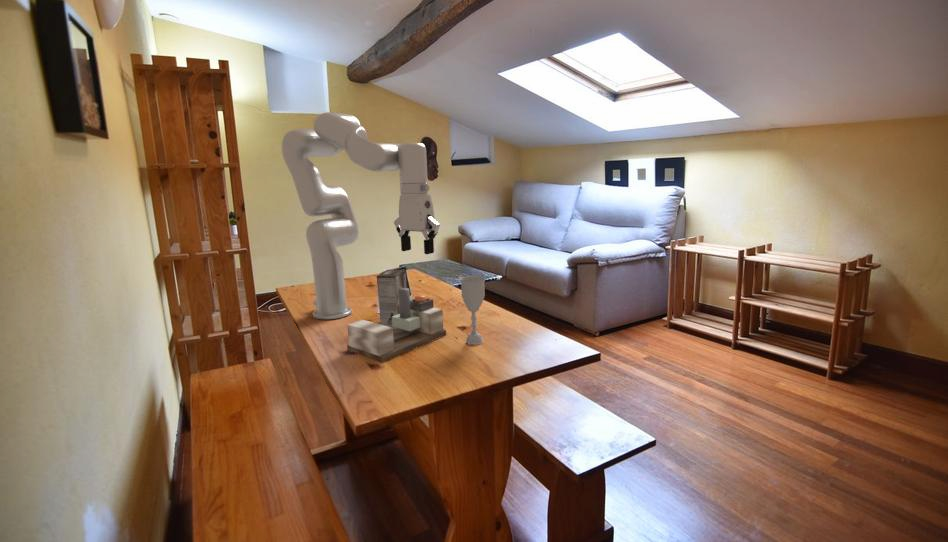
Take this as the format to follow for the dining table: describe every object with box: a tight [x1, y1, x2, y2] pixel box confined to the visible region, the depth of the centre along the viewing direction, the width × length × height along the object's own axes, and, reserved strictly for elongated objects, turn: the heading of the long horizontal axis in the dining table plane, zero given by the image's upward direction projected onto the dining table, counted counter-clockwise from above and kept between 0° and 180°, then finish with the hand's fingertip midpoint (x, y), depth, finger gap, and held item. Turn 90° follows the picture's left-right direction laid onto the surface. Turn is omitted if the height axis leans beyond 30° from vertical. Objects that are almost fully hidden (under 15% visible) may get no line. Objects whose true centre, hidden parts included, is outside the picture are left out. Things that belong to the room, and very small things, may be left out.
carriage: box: [391, 287, 420, 331], centre depth 136 cm, size 7×4×11 cm, turn 51°
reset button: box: [414, 294, 427, 303], centre depth 141 cm, size 3×3×2 cm
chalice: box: [458, 274, 487, 346], centre depth 133 cm, size 7×7×18 cm
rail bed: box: [346, 297, 447, 363], centre depth 135 cm, size 14×24×10 cm, turn 141°
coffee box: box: [376, 269, 408, 328], centre depth 151 cm, size 9×6×16 cm
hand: (417, 251), depth 137 cm, fingers open, 8 cm apart
